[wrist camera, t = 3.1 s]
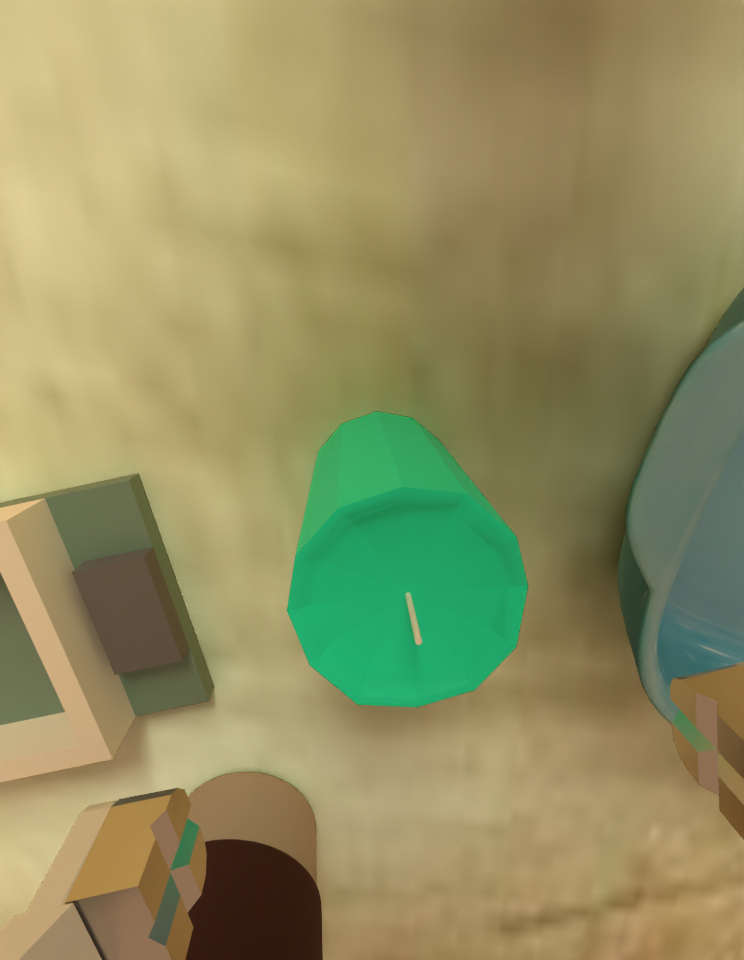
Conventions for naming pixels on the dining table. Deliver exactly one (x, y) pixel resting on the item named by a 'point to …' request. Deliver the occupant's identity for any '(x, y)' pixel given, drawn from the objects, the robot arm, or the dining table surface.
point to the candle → (402, 569)
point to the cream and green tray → (87, 627)
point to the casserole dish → (690, 525)
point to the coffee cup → (255, 872)
